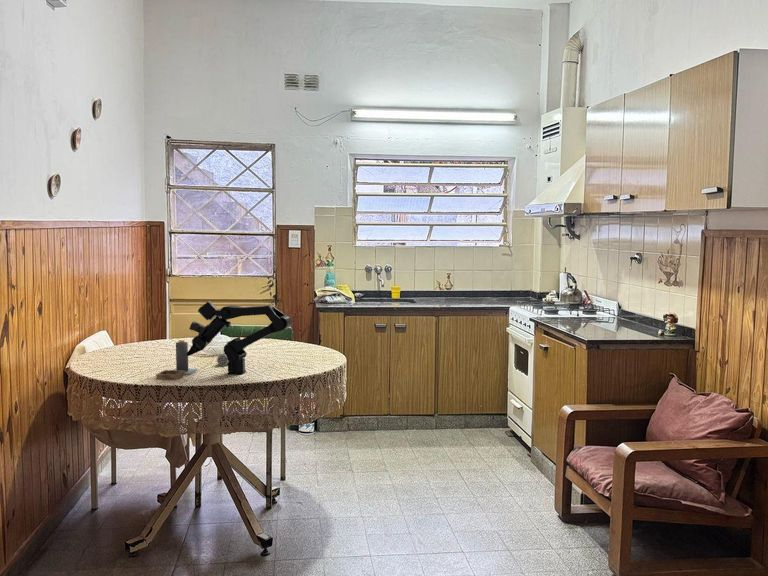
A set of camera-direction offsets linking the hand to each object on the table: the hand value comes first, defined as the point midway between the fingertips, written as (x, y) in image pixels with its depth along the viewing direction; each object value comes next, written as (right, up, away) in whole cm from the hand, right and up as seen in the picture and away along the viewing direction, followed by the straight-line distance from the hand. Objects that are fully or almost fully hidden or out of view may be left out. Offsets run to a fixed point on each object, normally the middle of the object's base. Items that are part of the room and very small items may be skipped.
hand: (189, 353), depth 309 cm
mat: (-3, -8, +1) cm, 9 cm away
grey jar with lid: (-3, -8, +1) cm, 8 cm away
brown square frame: (-5, -9, -9) cm, 14 cm away
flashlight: (+12, -7, +23) cm, 27 cm away
